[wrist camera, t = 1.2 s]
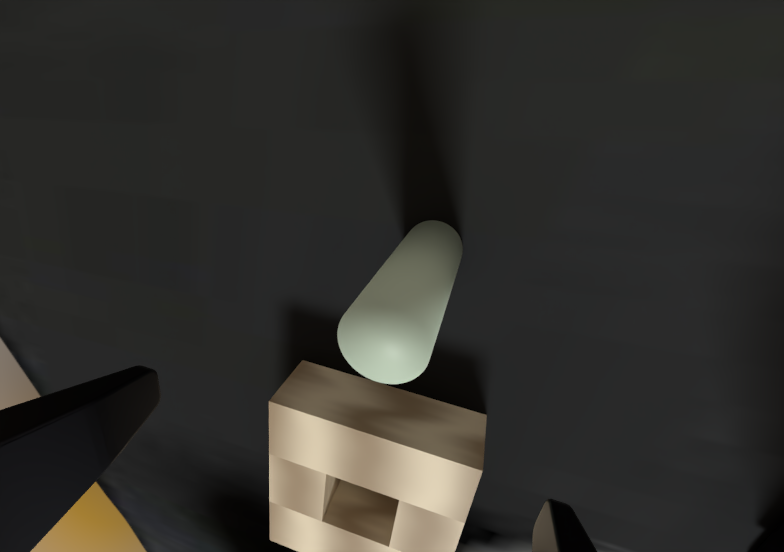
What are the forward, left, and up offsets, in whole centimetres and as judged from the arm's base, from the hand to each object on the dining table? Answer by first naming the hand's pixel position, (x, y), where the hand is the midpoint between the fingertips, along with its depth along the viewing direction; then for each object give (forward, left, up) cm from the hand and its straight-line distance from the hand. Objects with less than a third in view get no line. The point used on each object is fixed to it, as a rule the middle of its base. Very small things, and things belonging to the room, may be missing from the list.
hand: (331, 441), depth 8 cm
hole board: (+1, +16, -13) cm, 21 cm away
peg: (0, 0, -13) cm, 13 cm away
